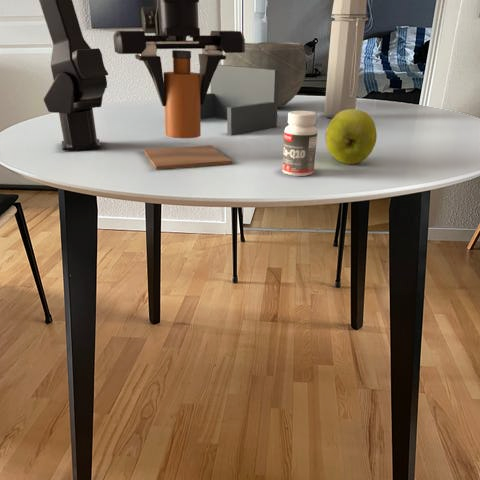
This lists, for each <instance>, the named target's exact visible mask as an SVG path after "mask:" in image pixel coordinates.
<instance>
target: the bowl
mask: <svg viewBox="0 0 480 480" xmlns="http://www.w3.org/2000/svg"><path fill="white" fill-rule="evenodd" d="M224 55H225V56H226V59H225V60H223V65H230V66H242V67H253V68H265V69H276V70H279V84H278V107H282V106H283V107H284V106H285V105H287V104H288V103H290V102H291V101H292V100H293V99H294V98H295V97H296V95H297V94H298V93H299V91H300V89H301V88H302V87H303V84H304V81H305V78H306V72H307V55H306V50H305V46H304V45H303V44H302V43H300V42H290V41H266V42H263V41H262V42H257V43H256V42H253V43H252V42H245V52H244V53H225V52H224Z"/></svg>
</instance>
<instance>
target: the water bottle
mask: <svg viewBox="0 0 480 480" xmlns="http://www.w3.org/2000/svg"><path fill="white" fill-rule="evenodd" d="M330 17H331V18H332V19H334V20H332V21H331V28H330V40H329V49H328V50H329V51H328V63H327V75H326V86H325V87H326V88H325V98H324V110H323V111H324V112H323V113H324V114H325V116H326V117H327V118H330V119H333V118H334V117H335V116H336V115H337V114H338V113H339V112H341V111H343V110H347V109H356V106H357V98H358V97H357V96H358V89H359V80H360V71H361V63H362V54H363V44H364V36H365V35H364V34H365V27H366V21H368V20H369V17H367V0H333V4H332V10H331V15H330Z"/></svg>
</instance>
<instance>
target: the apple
mask: <svg viewBox="0 0 480 480" xmlns="http://www.w3.org/2000/svg"><path fill="white" fill-rule="evenodd" d="M377 135H378V134H377V127H376V124H375V121H374V119H373V118H372V116H371V115H369V113H367V112H365V111H364V110H360V109H356V108H355V109H347V110H343V111H341V112H339V113H338V114H337V115H336V116H335V117H334V118H331V120H330V121H329V123H328V125H327V128H326V131H325V145H326V149H327V151H328V152H329V153H328V154H330V155H331V156H332V157H333V158H334V159H335V160H337V161H338V162H340V163H342V164H346V165H355V164H358V163H360V162H362V161H363V160H366V159H367V158H368V157H369V156H370V155H371V153H372V151H373V150H374V148H375V146H376V143H377V138H378V136H377Z"/></svg>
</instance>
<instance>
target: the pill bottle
mask: <svg viewBox="0 0 480 480" xmlns="http://www.w3.org/2000/svg"><path fill="white" fill-rule="evenodd" d="M287 124H288V125H287V126H285V128H284V130H283V131H284V133H283V150H282V151H283V152H282V173H283V174H285V175H289V176H293V177H306V176H310V175H312V174H314V172H315V164H316V151H317V143H318V142H317V140H318V128H317V127H316V126H315V125H316V124H317V112H315V111H311V110H293V111H289V112H288V114H287Z"/></svg>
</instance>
